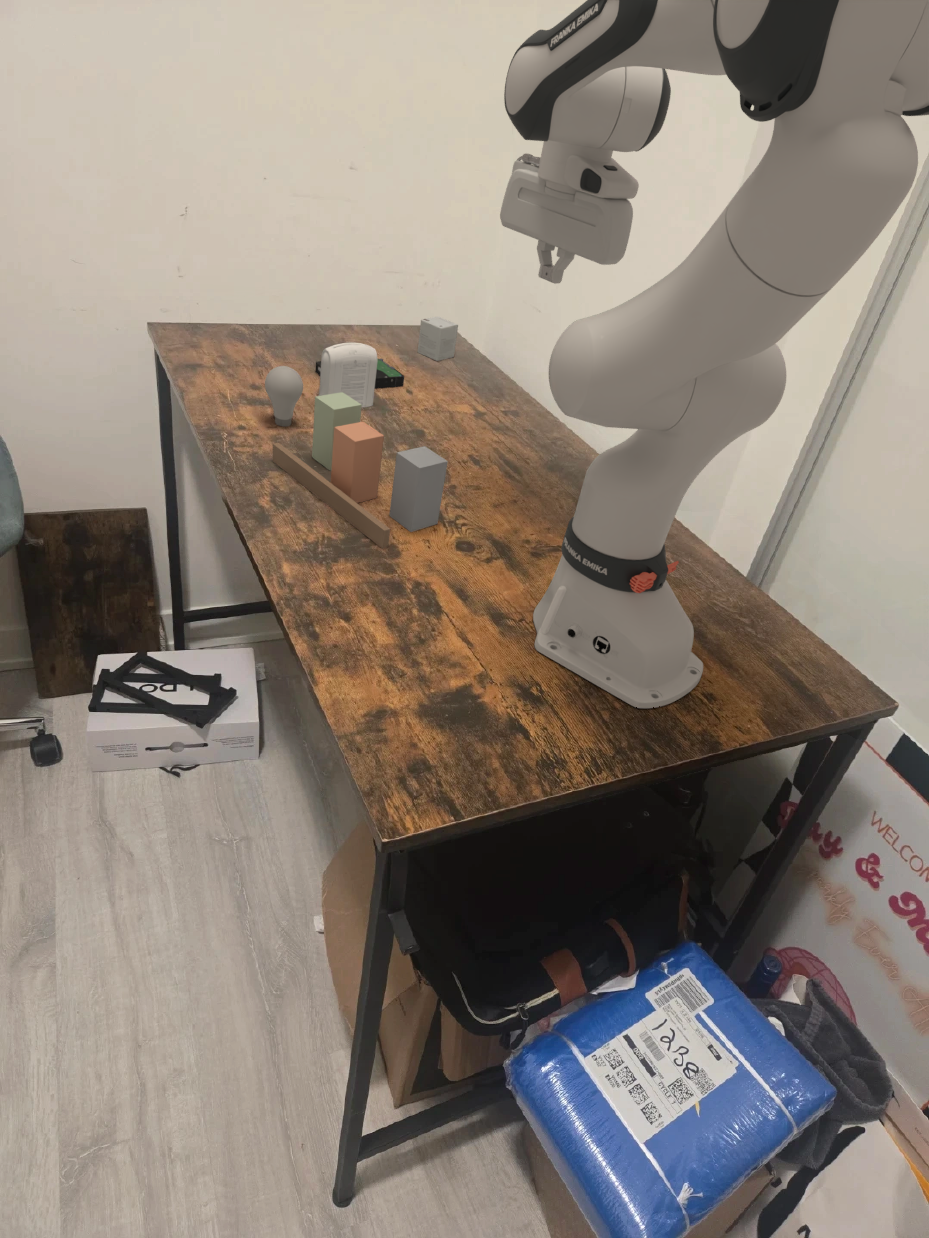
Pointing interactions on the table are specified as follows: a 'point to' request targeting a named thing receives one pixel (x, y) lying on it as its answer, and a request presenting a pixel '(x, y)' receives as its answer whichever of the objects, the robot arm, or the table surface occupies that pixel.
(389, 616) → the table surface
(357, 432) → the terracotta rectangular block
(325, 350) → the photo printer
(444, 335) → the skincare box
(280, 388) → the lightbulb
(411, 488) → the blue-grey block
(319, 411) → the sage green block
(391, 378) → the disk drive
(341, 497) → the cream board with rail
